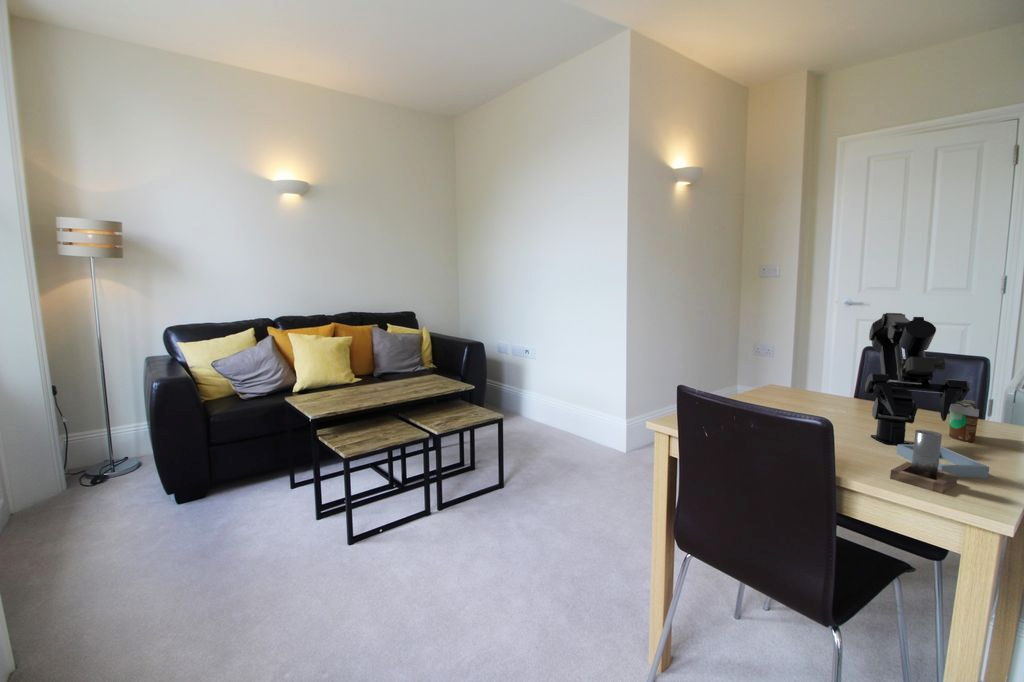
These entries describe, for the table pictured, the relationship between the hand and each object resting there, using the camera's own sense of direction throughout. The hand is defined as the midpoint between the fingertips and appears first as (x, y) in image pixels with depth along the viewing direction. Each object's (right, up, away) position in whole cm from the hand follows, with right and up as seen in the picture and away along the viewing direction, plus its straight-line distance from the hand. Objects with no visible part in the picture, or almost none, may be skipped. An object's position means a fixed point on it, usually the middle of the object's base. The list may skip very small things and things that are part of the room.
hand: (918, 417), depth 112 cm
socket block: (-4, -14, -5) cm, 16 cm away
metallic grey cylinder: (-4, -13, -5) cm, 15 cm away
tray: (+8, -13, +4) cm, 16 cm away
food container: (+34, -10, +27) cm, 44 cm away
